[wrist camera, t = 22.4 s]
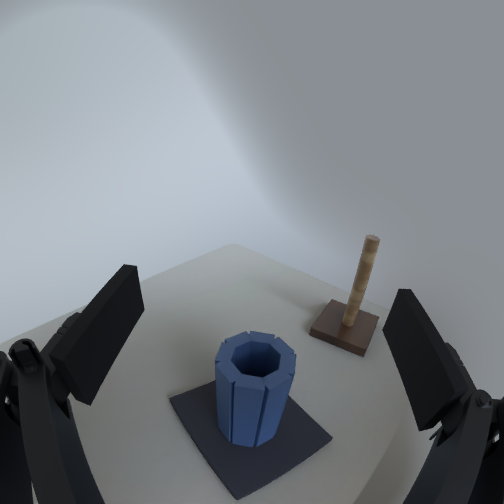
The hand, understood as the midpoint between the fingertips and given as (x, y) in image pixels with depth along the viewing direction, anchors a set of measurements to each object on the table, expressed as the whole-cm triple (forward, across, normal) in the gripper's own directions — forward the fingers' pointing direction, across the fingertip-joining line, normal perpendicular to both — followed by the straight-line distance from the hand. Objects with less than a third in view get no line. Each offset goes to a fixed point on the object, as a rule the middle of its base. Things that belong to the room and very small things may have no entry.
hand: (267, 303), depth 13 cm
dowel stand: (+21, +14, -20) cm, 32 cm away
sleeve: (+4, 0, -19) cm, 19 cm away
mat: (+4, 0, -20) cm, 20 cm away
